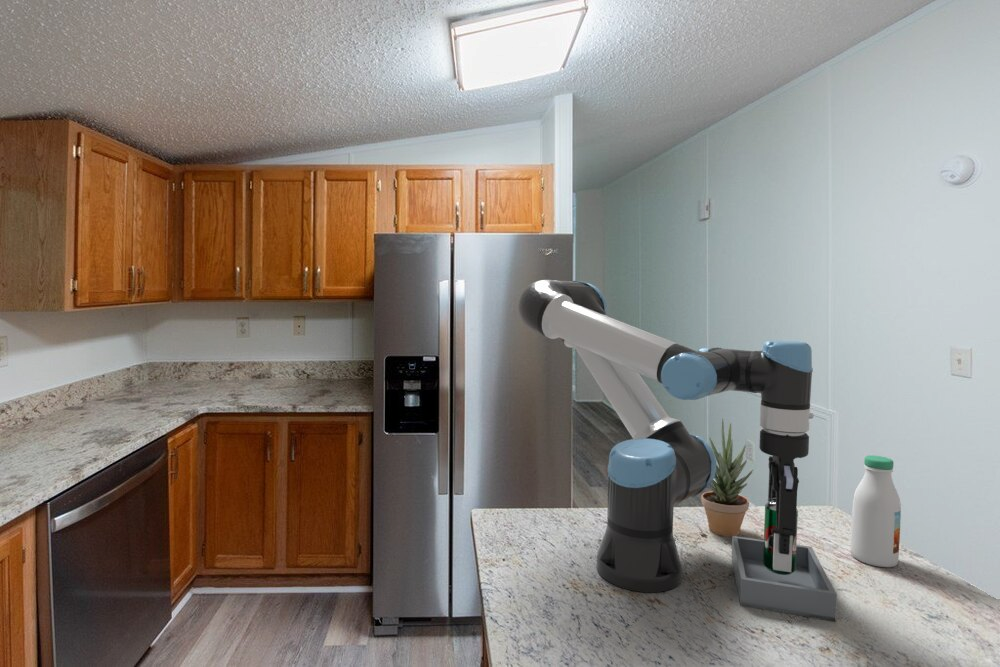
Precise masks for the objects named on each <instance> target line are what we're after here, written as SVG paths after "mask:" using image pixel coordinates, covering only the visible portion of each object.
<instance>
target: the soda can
mask: <svg viewBox="0 0 1000 667" xmlns="http://www.w3.org/2000/svg"><path fill="white" fill-rule="evenodd" d="M798 513H799V511H798V509H797V510H796V535H795V536H793V541H792V566H791V572H785V571H778V570H773V548H774V533H771V529H775V528H776V498H769V499H768V498H767V502H766V503H765V505H764V526H763V527H764V528H763V529H764V530H763V532H764V533H763V540H764V550H763V564H764V566H765V567H766V568H767V569H768V570H769V571H771V572H773V573H776V574H781V575H789V574H792V573H793V572H794V571H795V570H796V547H797V545H798V542H797V541H798V516H799V514H798Z"/></svg>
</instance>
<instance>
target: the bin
mask: <svg viewBox="0 0 1000 667" xmlns="http://www.w3.org/2000/svg"><path fill="white" fill-rule="evenodd" d="M763 550H764V539H758V538H751V537H744V536H743V537H742V536H738V535H737V536H731V556H730V558H731V562H732V568H733V569H732V570H733V573H734V579H735V585H736V589H737V595H738V600H739V604H740V606H741V607H742V606H744V607H749V608H754V609H760V610H765V611H770V612H771V611H773V612H776V613H784V614H789V615H795V616H800V617H806V618H812V619H818V620H823V621H828V622H836V618H837V617H836V616H837V596H838V595H837V592H836V590H835V588H834V586H833V585H832V583H831V581H830V579H829V576H828V575H827V573H826V571H825V569H824V567H823V566H822V564H821V561H820V559H818V556H817V554H816V552H815V550H814V549H813V547H812V546H811V545H810V546H809V545H803V544H802V545H801V544H797V547H796V570H795V571H794V572H793V573H792V574H789V575H781V574H776V573H773V572H771V571H769V570H768V569H767V568H766V567H765V566H764V564H763Z"/></svg>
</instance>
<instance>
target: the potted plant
mask: <svg viewBox="0 0 1000 667" xmlns="http://www.w3.org/2000/svg"><path fill="white" fill-rule="evenodd" d="M733 444H734V442H733V439H732V423H731V422H730V423H729V427H728V430H727V437H726V438H725V426H724V418H722V419H721V450H722V452H718V451H717V448H716V447H715V445H714V443H713V440H712V438H711V437H709V445H710V447H711V448H712V450H713V452H714V455H715V458H716V463H717V464H718V465H717V464H716V473H715V477H714V479H713V481H712V483H711V484H710V485H709V487H710V488H711V490H712V491H711V490H710V491H705V492H703V493H702V494H701V497H700V498H701V504H702V505H703V507H704V512H705V515H706V518H707V523H708V524H707V525H708V529H709V531H710V532H711V533H714V534H717V535H718V536H721V537H732V536H736V535H737V536H739V534H740V533H741V527H742V524H743V521H744V519H745V516H746V512H747V511H748V510H749V509H750V501H749V499H748V498H747V497H745V496H743V495H741V494H740V493H741V492H742V490H743V489H744V488H745V487H746V486H747V485H748V483H745V482H746V480H748V478H749V477H750V476H751V475H752V474H753V472H754V469H752V470H751V471H749V473H748V474H747V475H745V476H743V477H742V478H739V476H740V474H741V473H742V471H743V469H744V467H745V466H746V464H747V459H746V460H744V455H745V452H746V451H745V450H746V447H747V444H744V446H743V448H742V449H741V451H740V452H739V453H738V455H737V457H735V459H734V460H733V450H734V449H733V448H734V446H733ZM721 453H722V454H721ZM743 460H744V462H743ZM738 478H739V479H738ZM712 484H713V485H712Z"/></svg>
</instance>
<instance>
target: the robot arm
mask: <svg viewBox="0 0 1000 667" xmlns="http://www.w3.org/2000/svg"><path fill="white" fill-rule="evenodd" d="M517 307H518V315H519V317H520V319H521V321H522V323H523V324H524V325H525V326H526V327H527V328H528V329H530V330H531V331H533V332H535V333H537V334H539V335H541V336H544V337H546V338H549V339H552V340H555V339H559V338H560V339H561V341H562V342H563V344H564V345H565V347H566V348H571V349H575V350H576V352H577V353H578V355H579V357H580V358H581V360H582V362H583V363H584V365H585V366H586V368H587V369H588V370H589V372H590V374H591V375H592V377H593V378H594V380H595V382H596V383H597V385H598V386H599V388H600V389H601V391H602V392H603V394H604V395H605V398H606V399H607V400H608V402H609V403H610V405H611V406H612V408H613V410H614V411H615V413H616V414H617V416H618V418H619V419H620V420H621V422H622V424H623V425H624V427H625V428H626V430H627V431H628V433H629V435H630V436H631V439H627V440H624V441H620V442H618V443H616V444H615V445H614V446H613V447H612V448H611V450H610V452H609V456H608V458H609V459H608V464H607V469H606V470H607V478H608V480H607V512H606V513H607V517H606V519H607V521H606V524H607V525H606V529H605V532H604V535H603V537H602V539H601V543H600V546H599V548H598V551H597V554H596V571H597V573H598V574H599V575H600V576H601V577H602V578H603V579H604V580H605V581H607V582H609V583H610V584H612V585H614V586H617V587H619V588H621V589H625V590H629V591H634V592H641V593H660V592H666V591H669V590H672V589H674V588H675V587H678V585H679V584H680V583H681V582H682V574H683V570H682V569H683V567H682V566H683V564H682V561H681V558H680V554H679V551H678V546H677V544H676V540H675V537H674V532H673V531H674V507H675V506H676V505H678V504H679V503H682V502H684V501H686V500H688V499H690V498H693V497H697V496H698V495H700V494H701V493H702V492H704V491H705V490H706V489H708V488H709V487H710V484H711V485H712V484H713V483H712V481H713V480H715V479H714V477H715V473H716V465H717V460H716V457H715V455H714V452H713V449H712V447H711V445H710V443H708V442H707V440H705V439H704V438H702V437H701V436H699V435H695V434H694V433H690V432H689V431H688V429H687V428H686V427H685V425H684V424H683V422H682V421H681V419H677V418H672V417H671V416H669V415H668V414H667V413H666V411H665V409H664V408H663V406H662V405H661V403H659V401H658V399H657V398H656V396H655V395H654V393H653V391H651V389H650V388H649V386H648V385H647V383H646V382H645V380H644V379H643V377H646V378H649V379H651V380H653V381H655V382H658V383H660V384H662V386H663V387H664V389H665V391H666V392H668V394H669V395H670V396H672V397H673V398H676V399H678V400H684V401H686V400H687V401H688V400H689V401H690V400H691V401H695V400H699V399H703V398H705V397H709V396H712V395H716V394H720V393H725V392H729V391H734V392H744V393H745V392H746V393H753V394H760V398H761V399H760V410H759V411H760V413H759V414H760V416H759V426H760V427H761V428H762V429H761V430H760V431H759V450H760V451H761V453H764V454H766V455H768V472H769V473H768V491H767V492H768V493H767V494H768V495H767V500H768V499H769V498H776V528H775V529H771V533H774V548H773V570H778V571H785V572H791V566H792V541H793V536H795V535H796V510H798V508H797V505H798V504H797V503H798V488H799V483H800V481H799V480H800V479H799V477H798V474H799V473H798V471H799V470H798V466H795V462H794V460H795V459H803V458H806V457H807V456H808V455H809V449H810V448H809V446H810V445H809V444H810V436H809V435H808V433H807V432H809V431H810V421H809V420H811V419H814V413H812V412H810V411H811V410H810V409H811V397H812V396H811V394H812V393H811V392H812V378H813V377H812V376H813V372H814V369H813V362H812V361H813V358H812V357H813V356H812V352H813V351H812V347H811V345H810V344H808V343H807V342H804V341H798V340H797V341H796V340H795V341H794V340H766V341H764V343H762V344H763V345H762V349H761V350H744V349H733V348H732V349H731V348H722V347H711V348H710V347H703V348H700V349H699V350H695V349H692V348H689V347H687V346H686V345H685V346H684V345H681V344H679V343H676V342H675V341H671V340H670V339H667V338H664V337H661V336H659V335H657V334H653V333H651V332H648V331H646V330H644V329H641V328H639V327H636V326H633V325H630V324H628V323H626V322H623V321H620V320H618V319H615V318H613V317H609V316H608V314H607V309H606V307H607V302H606V298H605V296H604V294H603V293H602V292H601V290H600V289H599V288H598V287H597V286H594V285H593V284H592V283H589V282H584V281H581V280H570V281H568V280H555V279H554V280H553V279H540V280H535V281H534V282H532V283H530V284H529V285H528V286H527V287H525V288H524V290H523V291H522V292H521V294H520V297H519V299H518V306H517ZM641 375H642V376H643V377H642V376H641Z"/></svg>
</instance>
